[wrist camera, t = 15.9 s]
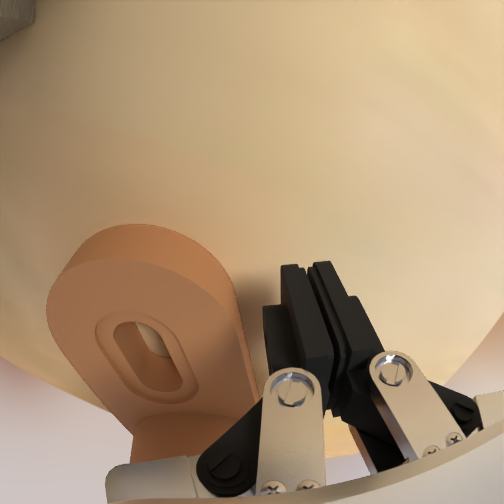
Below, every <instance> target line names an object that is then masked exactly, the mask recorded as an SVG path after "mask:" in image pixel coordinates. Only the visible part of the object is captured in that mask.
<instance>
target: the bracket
mask: <svg viewBox="0 0 504 504" xmlns="http://www.w3.org/2000/svg"><path fill="white" fill-rule="evenodd" d="M46 313H47V321H48V325H49V328H50V331H51V333H52V336H53V338H54V340H55V341H56V343H57V345H58V346H59V348H60V349H61V351H62V352H63V354H64V355H65V356H66V358H67V359H68V360H69V362H70V363H71V364H72V366H73V367H74V368H75V370H76V371H77V372H78V374H79V375H80V376H81V377H82V379H83V380H84V381H85V382H86V384H87V385H88V386H89V387H90V389H91V390H92V391H93V392H94V393H95V395H96V396H97V397H98V398H99V399H100V400H101V402H102V403H103V404H104V405H105V406H106V407H107V408H108V409H109V411H110V412H111V413H112V414H113V415H114V416H115V417H116V418H117V419H118V420H119V421H120V422H121V423H122V425H123V426H124V427H125V428H126V429H127V430H128V431H129V432H130V433H131V434H132V435H133V436H134V437H133V443H132V450H131V457H130V463H139V462H147V461H154V460H160V459H167V458H173V457H178V456H184V455H186V457H191V456H196V455H201V454H202V453H203V452H204V451H205V450H206V449H207V448H208V447H210V446H211V445H212V444H213V443H214V442H215V441H216V440H218V439H219V438H220V437H221V436H222V435H223V434H224V433H225V432H226V431H228V430H229V429H230V428H231V427H232V426H233V425H234V424H235V423H236V422H237V421H238V420H240V419H241V418H242V417H243V416H244V415H245V414H246V413H247V412H248V411H249V410H250V409H251V408H252V407H253V406H254V405H255V404H256V403H257V402H258V401H259V400H260V397H259V393H258V389H257V385H256V381H255V377H254V372H253V368H252V364H251V360H250V356H249V351H248V347H247V343H246V338H245V334H244V330H243V325H242V321H241V316H240V312H239V307H238V303H237V298H236V294H235V290H234V287H233V284H232V282H231V280H230V277H229V276H228V274H227V272H226V271H225V269H224V268H223V266H222V265H221V264H220V263H219V261H218V260H217V259H216V258H215V257H214V256H213V255H212V254H211V253H210V252H208V251H207V250H206V249H205V248H204V247H202V246H201V245H199V244H198V243H197V242H195V241H193V240H192V239H190V238H188V237H186V236H184V235H182V234H180V233H177V232H175V231H172V230H169V229H166V228H162V227H158V226H153V225H145V224H127V225H119V226H115V227H111V228H108V229H105V230H103V231H101V232H98V233H96V234H95V235H93V236H92V237H90V238H89V239H88V240H87V241H85V242H84V243H83V244H82V245H81V247H80V248H79V249H78V250H77V252H76V253H75V254H74V256H73V257H72V259H71V260H70V261H69V263H68V264H67V266H66V267H65V268H64V270H63V271H62V273H61V274H60V276H59V277H58V279H57V280H56V281H55V283H54V284H53V286H52V288H51V290H50V293H49V296H48V299H47V306H46ZM135 322H139V323H143V324H146V325H148V326H150V327H151V328H153V329H154V330H156V331H157V332H158V333H159V334H160V336H161V337H162V339H163V341H164V343H165V346H166V348H167V350H168V352H169V354H170V356H171V358H164V357H160V356H158V355H156V354H154V353H153V352H151V351H150V350H149V349H148V347H147V345H146V343H145V341H144V340H143V338H142V336H141V334H140V332H139V330H138V328H137V326H136V324H135Z"/></svg>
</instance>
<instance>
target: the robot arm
mask: <svg viewBox="0 0 504 504" xmlns="http://www.w3.org/2000/svg"><path fill="white" fill-rule="evenodd" d="M263 327H264V338H265V347H266V354H267V361H268V368H269V375H270V377H269V378H268V380H267V381H266V382H265V386H264V391H263V397H262V398H261V399H260V400H259V401H258V402H257V403H256V404H255V405H254V406H253V407H252V408H251V409H250V410H249V411H248V412H247V413H246V414H245V415H244V416H243V417H242V418H241V419H240V420H238V421H237V422H236V423H235V424H234V425H233V426H232V427H231V428H230V429H229V430H228V431H226V432H225V433H224V434H223V435H222V436H221V437H220V438H219V439H218V440H216V441H215V442H214V443H213V444H212V445H211V446H210V447H208V448H207V449H206V450H205V451H204V452H203V453H202V454H201V455H196V456H191V457H186V455H184V456H178V457H173V458H167V459H160V460H154V461H147V462H139V463H130V464H122V465H119V466H115V467H114V468H113V469H112V470H110V471H109V473H108V475H107V476H106V481H105V488H106V496H107V503H108V504H504V390H503V391H498V392H493V393H488V394H483V395H477V396H475V397H474V398H473V399H471V398H469V397H467V396H465V395H463V394H460V393H458V392H455V391H453V390H450V389H448V388H445V387H443V386H441V385H438V384H436V383H433V382H431V381H429V380H427V379H426V377H425V376H424V375H423V373H422V372H421V370H420V369H419V368H418V366H417V365H416V363H415V362H414V361H413V360H412V359H411V358H410V357H409V356H407V355H406V354H404V353H401V352H398V351H386V352H385V350H384V348H383V346H382V344H381V342H380V340H379V338H378V336H377V334H376V332H375V330H374V328H373V326H372V324H371V322H370V320H369V318H368V316H367V314H366V312H365V310H364V308H363V306H362V304H361V302H360V301H359V299H358V297H357V296H348V295H347V293H346V291H345V289H344V287H343V285H342V283H341V281H340V279H339V277H338V275H337V273H336V271H335V269H334V267H333V265H332V263H331V262H330V261H322V262H314V263H313V267H308V270H307V274H306V271H305V269H304V268H299V266H298V264H291V265H281V304H280V305H270V306H263ZM329 409H331V411H332V415H333V417H338V416H341V419H342V421H344V422H346V423H347V424H348V426H349V430H350V432H351V434H352V436H353V438H354V440H355V443H356V445H357V447H358V449H359V451H360V453H361V455H362V457H363V459H364V461H365V463H366V466H367V468H368V470H369V472H370V474H371V475H370V476H366V477H362V478H359V479H354V480H350V481H346V482H342V483H338V484H333V485H328V486H326V474H325V473H326V472H325V447H324V428H323V418H324V415H325V411H326V410H329Z"/></svg>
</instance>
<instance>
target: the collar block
mask: <svg viewBox="0 0 504 504" xmlns="http://www.w3.org/2000/svg"><path fill="white" fill-rule="evenodd" d="M34 6H35V0H0V41H1V40H2V39H4V38H6V37H8V36H9V35H11V34H13V33H15V32H17V31H18V30H20V29H22V28H24V27H26V26H28V25H30V24H32V23H34Z"/></svg>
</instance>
